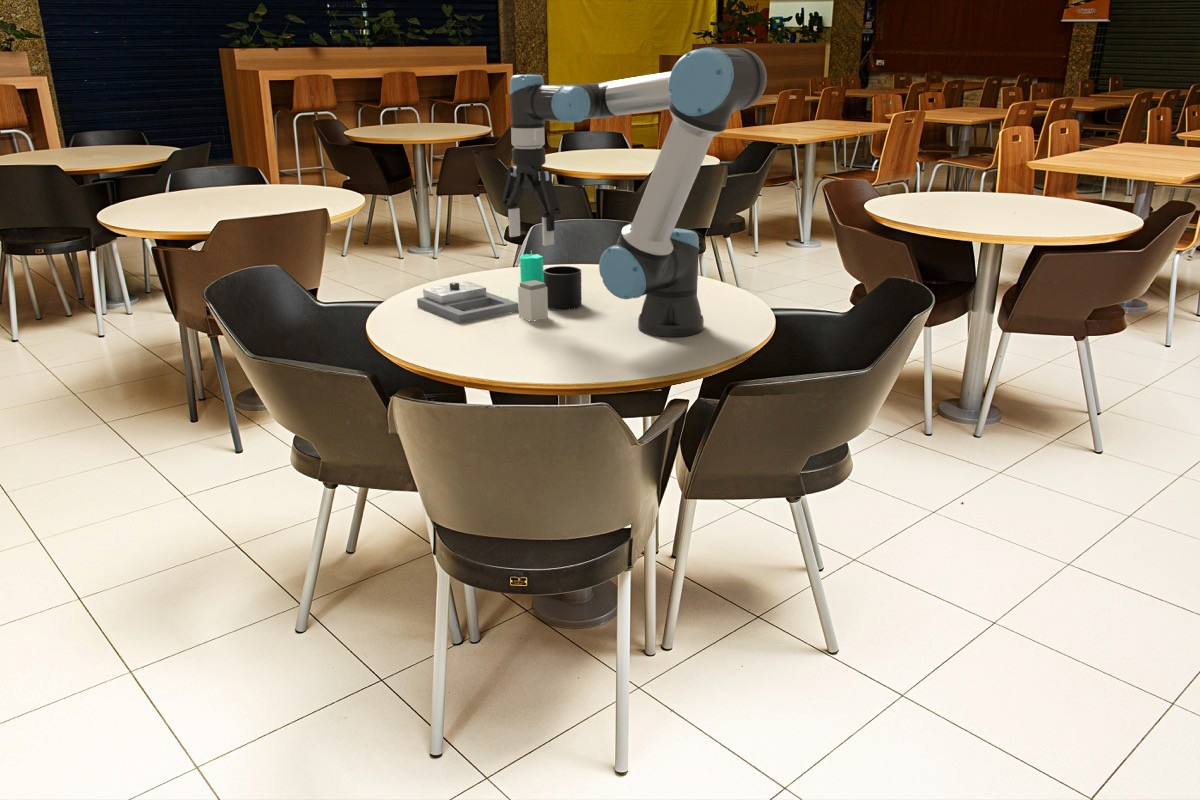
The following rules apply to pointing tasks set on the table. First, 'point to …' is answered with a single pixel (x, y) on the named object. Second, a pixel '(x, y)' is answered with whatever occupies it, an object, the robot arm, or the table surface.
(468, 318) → the grey flat frame
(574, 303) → the mug
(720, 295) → the table surface
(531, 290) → the plug
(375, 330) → the table surface
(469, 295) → the panel
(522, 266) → the candle
